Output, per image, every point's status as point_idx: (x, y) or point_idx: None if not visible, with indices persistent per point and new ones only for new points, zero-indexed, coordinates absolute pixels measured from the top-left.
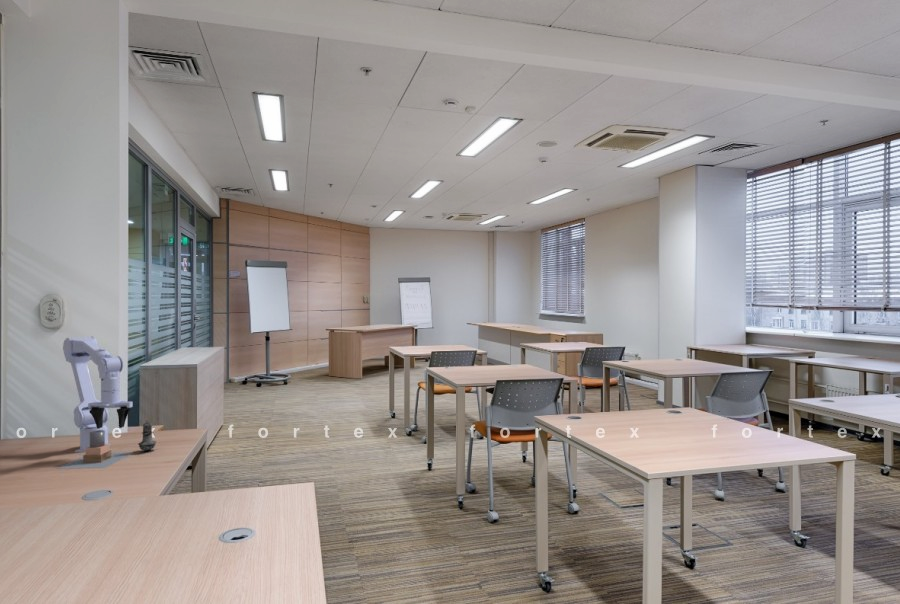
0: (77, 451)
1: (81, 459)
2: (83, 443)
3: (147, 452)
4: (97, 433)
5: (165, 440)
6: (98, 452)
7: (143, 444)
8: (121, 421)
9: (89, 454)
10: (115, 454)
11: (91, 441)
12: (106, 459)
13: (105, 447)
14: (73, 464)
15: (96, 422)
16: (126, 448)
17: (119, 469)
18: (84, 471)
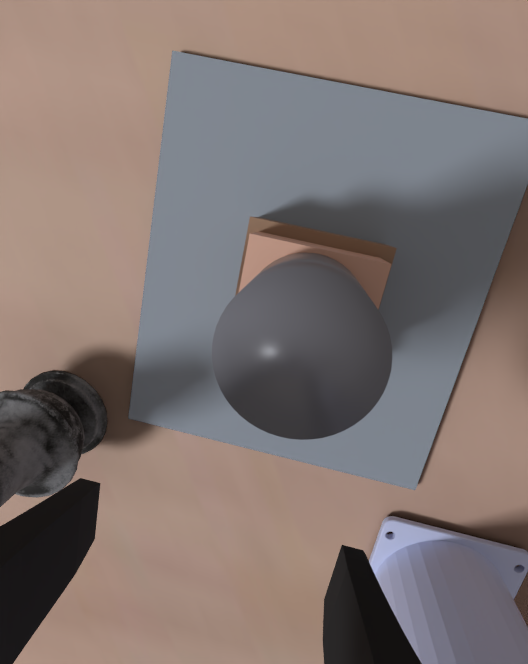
0: (509, 549)
1: (425, 342)
2: (493, 594)
3: (43, 383)
4: (269, 275)
5: (67, 634)
6: (274, 236)
7: (22, 400)
8: (5, 527)
9: (349, 251)
10: None
11: (341, 268)
12: None
13: None
14: (445, 215)
15: (380, 616)
16: (226, 544)
17: (70, 8)
18: (309, 17)
